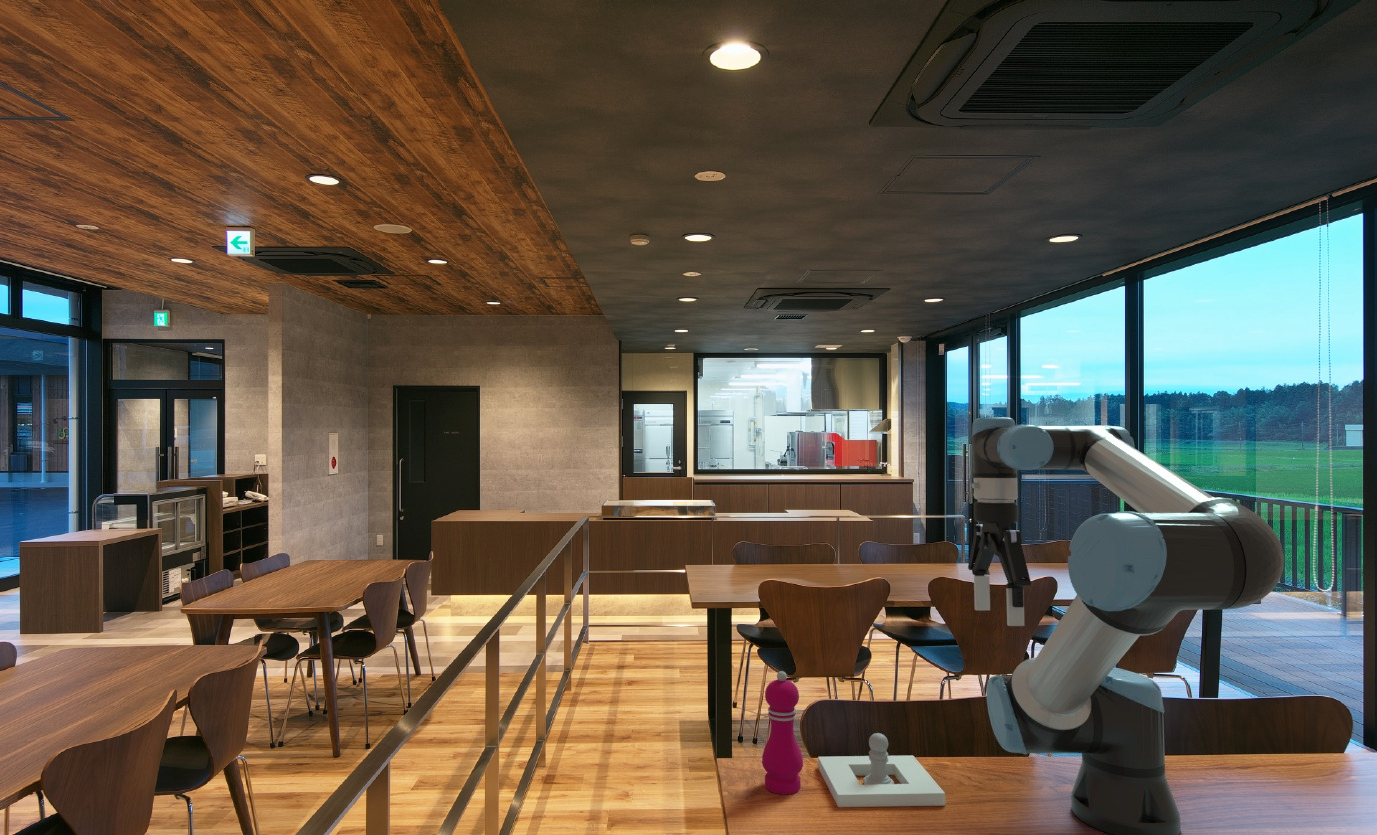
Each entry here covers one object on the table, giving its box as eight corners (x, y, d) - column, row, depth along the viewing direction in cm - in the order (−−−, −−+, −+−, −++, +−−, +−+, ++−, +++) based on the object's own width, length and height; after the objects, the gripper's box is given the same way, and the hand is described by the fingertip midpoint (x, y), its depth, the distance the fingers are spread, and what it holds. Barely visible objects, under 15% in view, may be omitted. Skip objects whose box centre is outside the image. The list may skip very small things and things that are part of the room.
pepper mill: (802, 779, 134) (801, 666, 135) (804, 797, 127) (803, 677, 128) (762, 777, 135) (761, 665, 136) (762, 795, 128) (761, 676, 129)
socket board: (913, 766, 140) (912, 755, 140) (945, 805, 124) (945, 793, 124) (818, 767, 139) (818, 756, 139) (838, 807, 123) (838, 794, 123)
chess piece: (900, 787, 131) (899, 734, 131) (880, 794, 128) (879, 741, 128) (877, 776, 135) (876, 726, 136) (856, 783, 132) (856, 732, 133)
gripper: (949, 497, 150) (951, 604, 148) (1006, 504, 125) (1009, 633, 124) (986, 497, 150) (988, 604, 149) (1050, 504, 125) (1054, 632, 124)
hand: (998, 617), depth 136 cm, fingers open, 13 cm apart
